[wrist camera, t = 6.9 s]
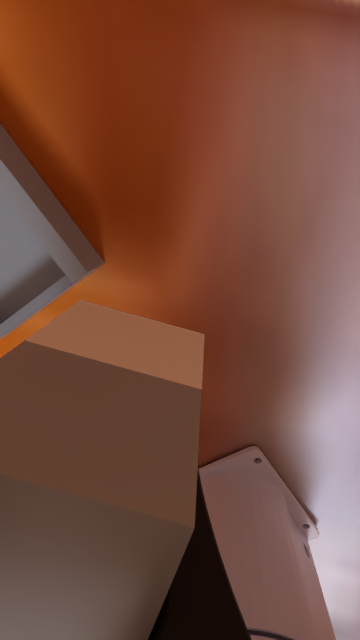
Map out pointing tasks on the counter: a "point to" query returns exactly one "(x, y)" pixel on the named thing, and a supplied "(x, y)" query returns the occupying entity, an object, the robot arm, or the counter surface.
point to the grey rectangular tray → (34, 241)
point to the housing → (96, 473)
